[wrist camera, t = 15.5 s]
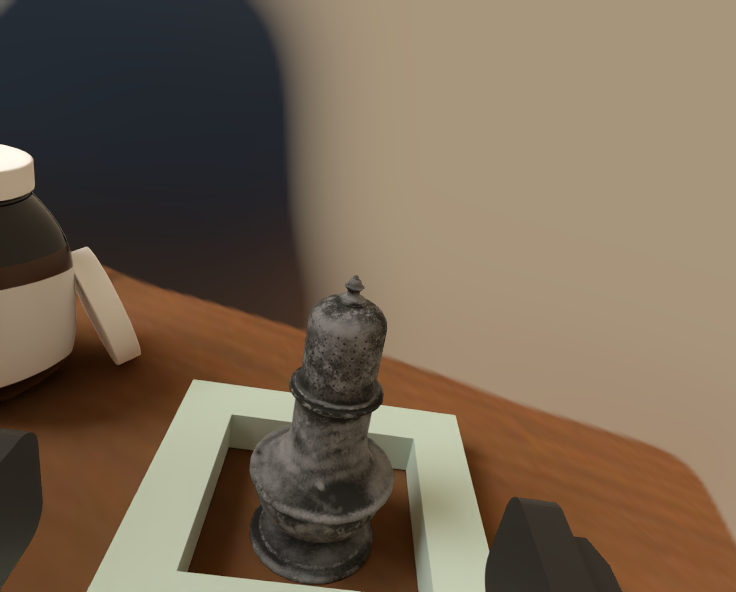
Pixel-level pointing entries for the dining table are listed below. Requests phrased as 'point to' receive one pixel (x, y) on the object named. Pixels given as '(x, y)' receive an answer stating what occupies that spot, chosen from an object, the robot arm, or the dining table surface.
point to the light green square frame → (244, 431)
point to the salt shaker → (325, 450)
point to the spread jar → (47, 287)
